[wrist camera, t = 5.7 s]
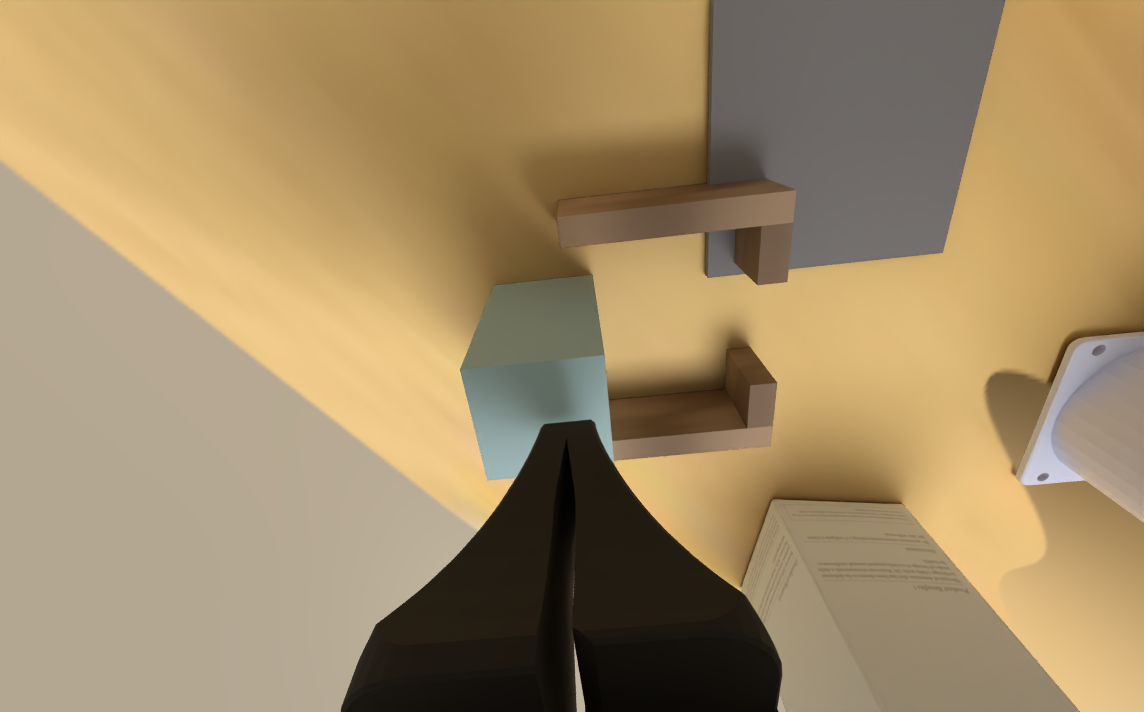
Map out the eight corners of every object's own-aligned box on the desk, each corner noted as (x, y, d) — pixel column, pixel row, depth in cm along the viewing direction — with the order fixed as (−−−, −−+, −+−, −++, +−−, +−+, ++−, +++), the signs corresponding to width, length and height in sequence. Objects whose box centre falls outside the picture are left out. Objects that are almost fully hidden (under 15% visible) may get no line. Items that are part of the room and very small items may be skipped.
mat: (1004, -38, 15) (1015, -41, 15) (935, 250, 19) (942, 252, 19) (710, 0, 15) (713, -2, 15) (705, 274, 19) (707, 277, 19)
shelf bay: (761, 176, 18) (796, 190, 15) (746, 405, 22) (770, 446, 20) (558, 200, 18) (556, 217, 15) (584, 420, 23) (586, 463, 20)
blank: (592, 274, 19) (604, 354, 13) (600, 361, 21) (614, 468, 15) (493, 285, 20) (460, 369, 13) (510, 371, 21) (487, 480, 15)
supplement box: (736, 589, 28) (847, 907, 17) (770, 494, 25) (937, 812, 14) (859, 595, 29) (1046, 910, 18) (909, 501, 25) (1182, 818, 14)
